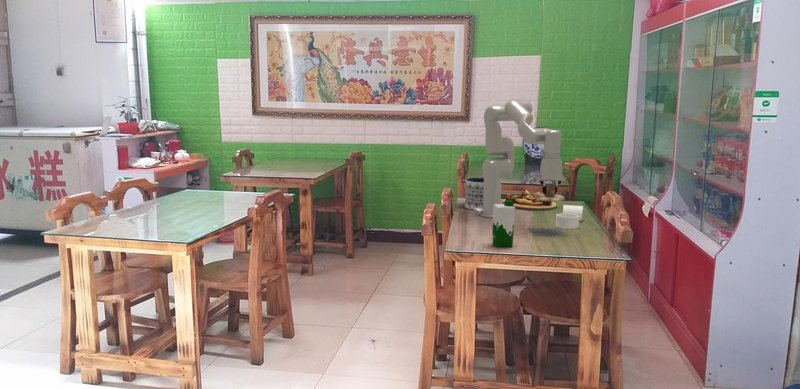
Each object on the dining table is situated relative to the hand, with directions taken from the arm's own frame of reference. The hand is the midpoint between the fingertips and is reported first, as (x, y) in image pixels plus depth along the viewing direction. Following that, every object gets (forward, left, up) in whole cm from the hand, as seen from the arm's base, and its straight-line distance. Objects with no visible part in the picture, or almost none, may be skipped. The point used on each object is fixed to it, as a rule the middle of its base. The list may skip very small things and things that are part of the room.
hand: (549, 193), depth 301 cm
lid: (0, 0, -2) cm, 2 cm away
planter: (-24, +62, -19) cm, 69 cm away
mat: (0, 0, -19) cm, 19 cm away
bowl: (+13, +13, -19) cm, 26 cm away
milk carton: (-26, -25, -19) cm, 41 cm away
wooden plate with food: (+6, +71, -20) cm, 74 cm away
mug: (+21, +32, -19) cm, 43 cm away
